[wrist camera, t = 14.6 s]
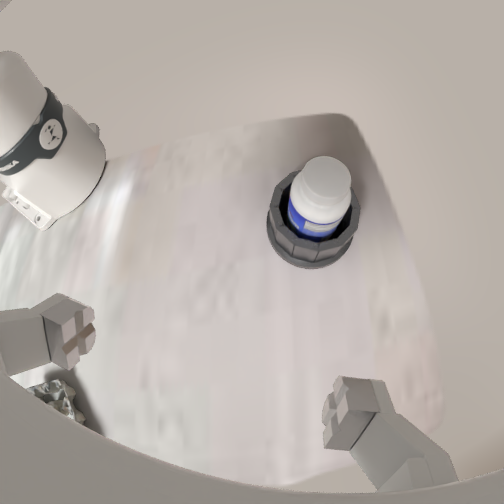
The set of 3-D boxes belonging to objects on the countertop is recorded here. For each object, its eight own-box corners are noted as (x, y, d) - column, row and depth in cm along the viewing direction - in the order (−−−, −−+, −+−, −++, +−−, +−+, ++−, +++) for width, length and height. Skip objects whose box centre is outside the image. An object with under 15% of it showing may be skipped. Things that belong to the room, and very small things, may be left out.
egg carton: (104, 454, 26) (87, 464, 22) (65, 456, 25) (47, 464, 21) (74, 376, 29) (54, 378, 25) (38, 385, 28) (19, 386, 24)
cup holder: (256, 256, 31) (253, 240, 27) (278, 180, 34) (279, 156, 29) (343, 278, 30) (355, 267, 25) (357, 200, 33) (368, 179, 28)
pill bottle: (285, 200, 32) (289, 147, 23) (332, 200, 32) (353, 148, 22) (287, 247, 30) (294, 206, 21) (338, 246, 30) (364, 206, 21)
